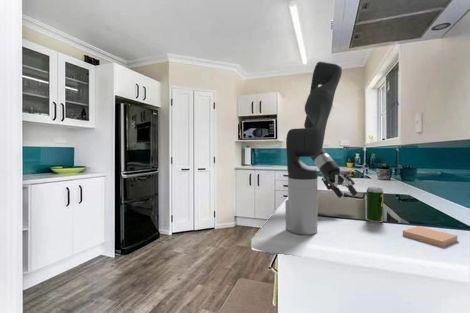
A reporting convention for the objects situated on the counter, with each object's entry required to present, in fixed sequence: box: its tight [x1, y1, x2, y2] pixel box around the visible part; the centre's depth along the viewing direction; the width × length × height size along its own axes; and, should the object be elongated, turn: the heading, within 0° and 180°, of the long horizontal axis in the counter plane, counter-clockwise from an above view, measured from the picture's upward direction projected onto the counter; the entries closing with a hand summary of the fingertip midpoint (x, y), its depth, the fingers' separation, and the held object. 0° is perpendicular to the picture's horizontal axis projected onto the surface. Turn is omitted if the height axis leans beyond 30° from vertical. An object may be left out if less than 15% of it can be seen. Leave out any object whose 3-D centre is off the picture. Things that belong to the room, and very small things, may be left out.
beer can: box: [365, 186, 384, 224], centre depth 90 cm, size 5×5×12 cm
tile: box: [402, 225, 458, 248], centre depth 73 cm, size 2×9×10 cm
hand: (348, 195), depth 100 cm, fingers open, 8 cm apart
